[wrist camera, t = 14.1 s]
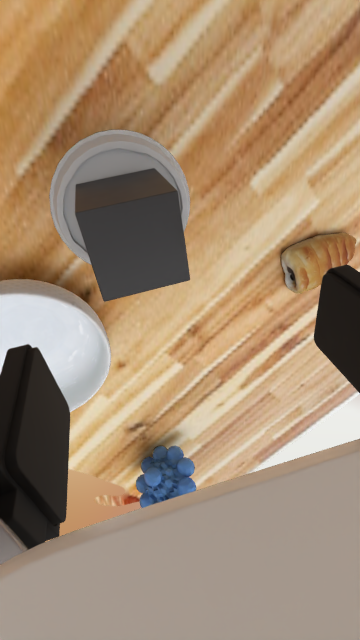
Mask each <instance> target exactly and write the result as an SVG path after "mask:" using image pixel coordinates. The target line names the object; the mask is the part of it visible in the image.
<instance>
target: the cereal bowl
mask: <svg viewBox="0 0 360 640" xmlns="http://www.w3.org/2000/svg"><path fill="white" fill-rule="evenodd" d="M26 344H29V345H30V346H31V347H32V348H34V347H38V348H39V350H40V352H41V354H42V355H43V357H44V359H45V361H46V363H47V365H48V367H49V369H50V371H51V373H52V375H53V376H54V378H55V380H56V382H57V384H58V386H59V388H60V390H61V392H62V394H63V395H64V397H65V399H66V401H67V403H68V406H69V409H70V412H71V411H73V410H75V409H77V408H78V407H80V406H82V405H83V404H84V403H86V402H87V401H88V400H89V399H90V398H92V397H93V396H94V395H95V393H96V392H97V391H98V390H99V389H100V387H101V386H102V384H103V383H104V381H105V379H106V377H107V375H108V372H109V368H110V363H111V350H110V344H109V340H108V337H107V334H106V331H105V329H104V326H103V324H102V322H101V321H100V319H99V317H98V316H97V314H96V313H95V312H94V310H93V309H92V308H91V307H90V306H89V305H88V304H87V303H86V302H85V301H83V300H82V299H81V298H80V297H78V296H77V295H75V294H74V293H72V292H70V291H68V290H66V289H64V288H62V287H59V286H57V285H54V284H50V283H48V282H43V281H39V280H29V279H12V280H2V281H0V374H1V371H2V367H3V364H4V360H5V357H6V353H7V351H8V349H10V348H14V347H18V346H22V345H26Z"/></svg>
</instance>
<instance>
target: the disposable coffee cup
mask: <svg viewBox="0 0 360 640" xmlns="http://www.w3.org/2000/svg"><path fill="white" fill-rule="evenodd" d="M152 168H155V169H156V170H157V171H158V172H159V173H160V174H161V175H162V176H163V177H164V178H165V179H166V180H167V181H168V182H169V183H170V184H171V185H172V186H173V187H174V188H175V189H176V190H177V191H178V195H179V202H180V209H181V217H182V224H183V231H184V230H185V227H186V225H187V221H188V217H189V211H190V196H189V189H188V185H187V181H186V178H185V175H184V173H183V171H182V169H181V167H180V165H179V164H178V162H177V161H176V160H175V158H174V157H173V156H172V154H171V153H170V152H169V151H168V150H167V149H166V148H165V147H164V146H162V145H161V144H159V143H158V142H156V141H155V140H153V139H152V138H150V137H148V136H145V135H143V134H140V133H137V132H133V131H129V130H108V131H102V132H97V133H95V134H93V135H91V136H89V137H87V138H85V139H82V140H80V141H79V142H78V143H76V144H75V145H74V146H73V147H72V148H71V149H70V150H69V151H68V152H67V153H66V154H65V155H64V157H63V158H62V159H61V161H60V162H59V164H58V166H57V168H56V171H55V173H54V176H53V178H52V183H51V189H50V195H49V196H50V208H51V215H52V218H53V221H54V225H55V227H56V229H57V231H58V233H59V235H60V237H61V239H62V240H63V241H64V242H65V244H66V245H67V246H68V248H69V249H70V250H71V251H72V252H74V253H75V254H76V255H77V256H78V257H79V258H81V259H82V260H84V261H85V262H87V263H89V264H91V261H90V258H89V255H88V252H87V249H86V246H85V243H84V240H83V237H82V234H81V231H80V228H79V225H78V222H77V219H76V216H75V188H76V184H80V183H85V182H90V181H94V180H99V179H104V178H109V177H114V176H119V175H123V174H128V173H133V172H138V171H143V170H148V169H152ZM91 265H92V264H91Z"/></svg>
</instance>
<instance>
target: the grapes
mask: <svg viewBox="0 0 360 640" xmlns="http://www.w3.org/2000/svg"><path fill="white" fill-rule="evenodd" d="M183 456H184V454H183V451H182V450H181V448H180V447H178V446H171V447H170V448H169V449H168V450H167V449H166V448H165V447H163V446H159V447H157V448H155V449H154V451H153V458H152V457H147V458H145V459H144V460H143V461H142V463H141V469H142V471H143V473H144V474H143V475H140V476H139V477H138V478H137V480H136V487H137V490H138V491H139V492H141V493H143V494H142V495H141V497H140V505H141V507H142V508H144V507H147V506H150V505H153V504H156V503H159V502H162V501H165V500H168V499H172V498H175V497H178V496H181V495H184V494H187V493H190V492H193V491H196V485H195V482H194V481H193V480H192V479H191V478H189V477H190V476H191V475H192V474H193V473H194V468H195V467H194V463H193V462H192V461H191V460H190V459H189V458H186V457H185V458H183Z"/></svg>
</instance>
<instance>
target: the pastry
mask: <svg viewBox="0 0 360 640" xmlns="http://www.w3.org/2000/svg"><path fill="white" fill-rule="evenodd" d="M355 244H356V239H355V238H354V237H353V236H351V235H349V234H347V233H337V234H329V235H317V236H315V237H314V238H310V239H307V240H304V241H302V242H300V243H298V244H294V245H292V246H290V247H288V248H287V249H286V250H285V251H284V252H283V253H282V255H281V262H282V267H283V270H284V272H285V282H286V286H287V287H288V288H289V289H290V290H291V291H293V292H294V293H300V294H302V293H303V292H304V291H308V290H311V289H314V288H316V287H318V286H319V285H321V283H322V278H323V276H324V275H325V274H326V272H327V271H328V270H329V269H330V268H334V267H338V266H342V265H347V263H348V262H349V261H350V260H351V259H352V257H353V255H354V249H355Z"/></svg>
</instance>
